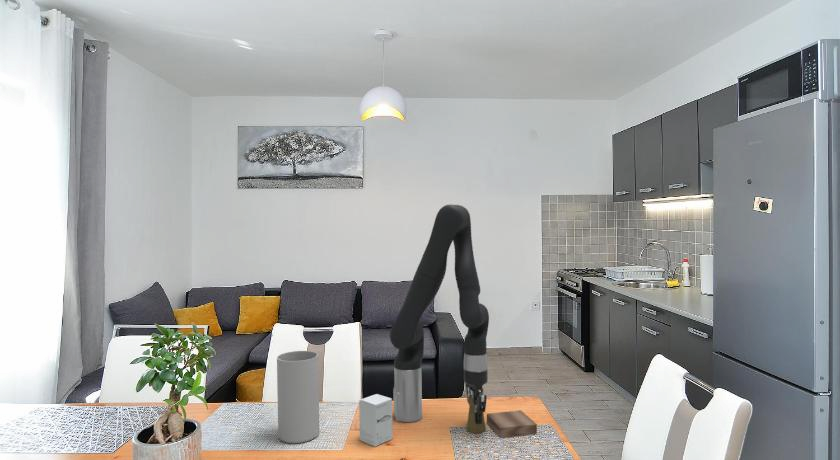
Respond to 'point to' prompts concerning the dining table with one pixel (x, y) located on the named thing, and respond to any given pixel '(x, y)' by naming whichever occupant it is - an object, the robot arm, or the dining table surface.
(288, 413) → the cylinder vase
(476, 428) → the olive knob-ended peg
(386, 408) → the supplement box
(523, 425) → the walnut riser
